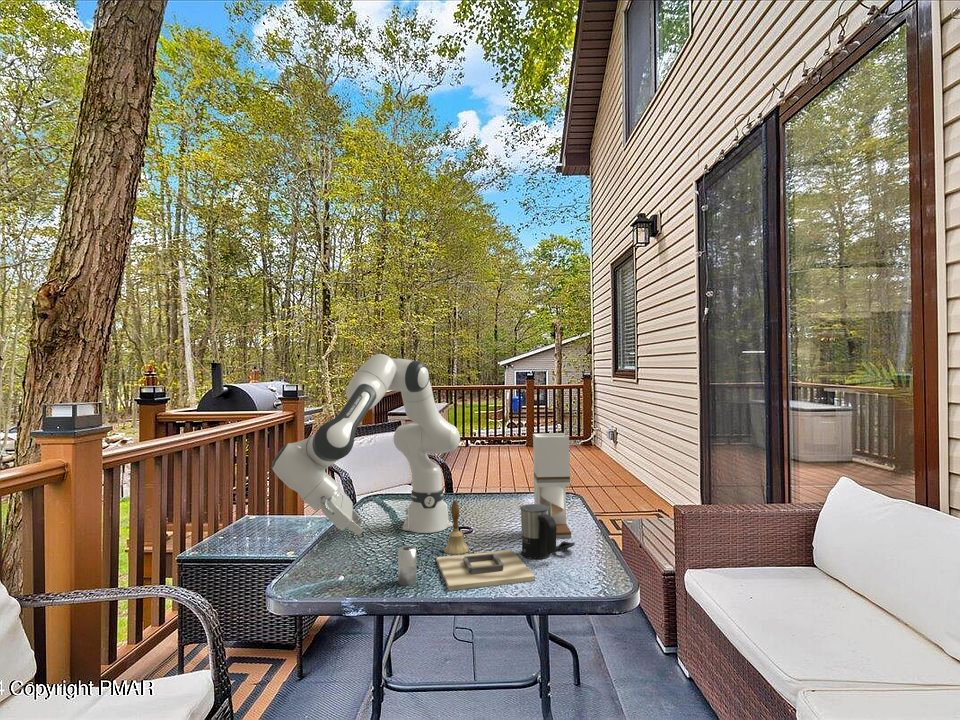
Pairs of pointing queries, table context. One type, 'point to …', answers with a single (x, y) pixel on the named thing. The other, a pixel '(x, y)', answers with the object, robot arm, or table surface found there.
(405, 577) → the sleeve
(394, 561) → the table surface
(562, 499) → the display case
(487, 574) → the hub board
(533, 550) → the milk frother
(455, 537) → the hand bell
